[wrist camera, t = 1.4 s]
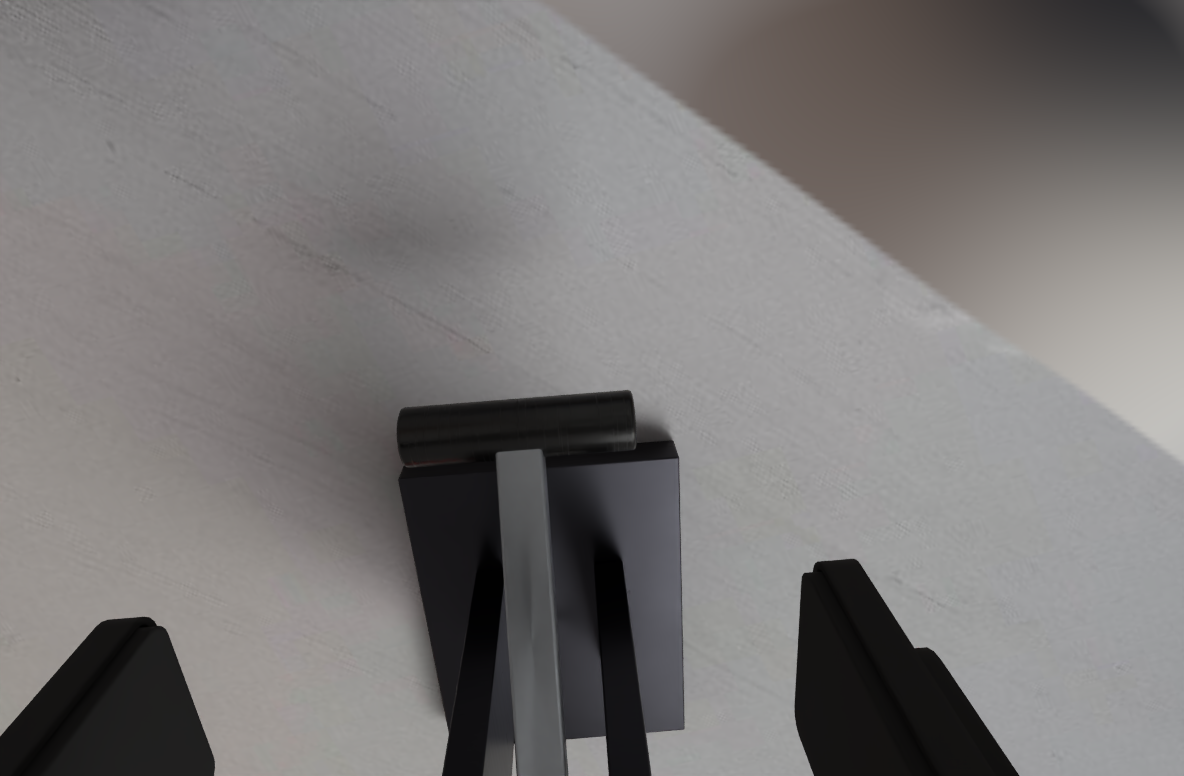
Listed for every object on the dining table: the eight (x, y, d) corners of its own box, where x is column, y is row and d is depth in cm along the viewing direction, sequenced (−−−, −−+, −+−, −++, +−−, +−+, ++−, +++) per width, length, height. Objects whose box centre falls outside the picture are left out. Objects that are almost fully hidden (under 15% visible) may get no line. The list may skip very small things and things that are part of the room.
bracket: (404, 460, 24) (255, 829, 12) (673, 439, 24) (784, 784, 12) (455, 723, 29) (383, 1172, 17) (679, 705, 29) (764, 1137, 17)
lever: (414, 410, 18) (388, 404, 16) (628, 393, 18) (634, 385, 16) (445, 953, 17) (423, 1034, 15) (673, 932, 17) (687, 1011, 15)
